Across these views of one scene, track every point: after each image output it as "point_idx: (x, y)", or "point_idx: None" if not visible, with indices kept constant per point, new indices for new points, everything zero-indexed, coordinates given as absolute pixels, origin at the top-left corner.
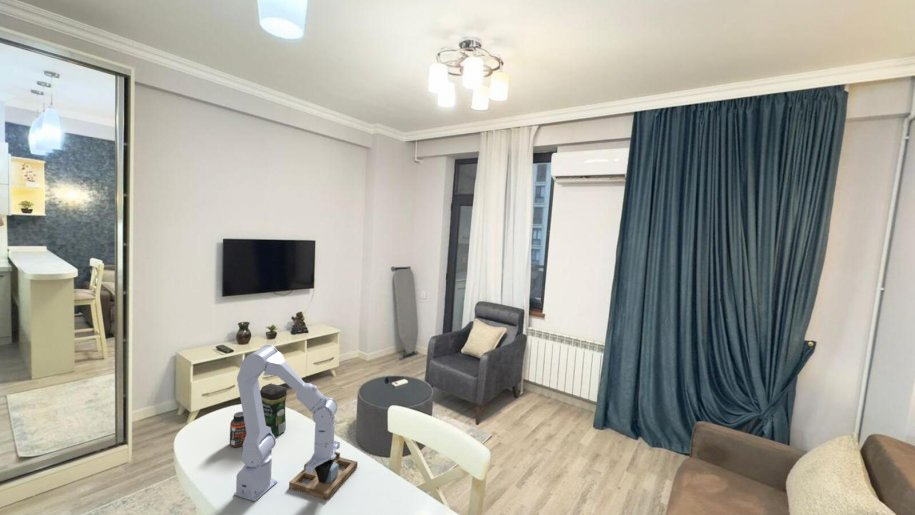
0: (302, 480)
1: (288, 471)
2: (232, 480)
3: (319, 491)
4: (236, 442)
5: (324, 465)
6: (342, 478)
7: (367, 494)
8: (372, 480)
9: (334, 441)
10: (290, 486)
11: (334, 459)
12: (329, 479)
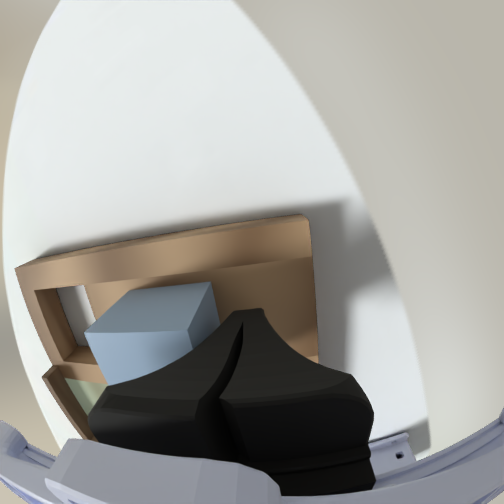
0: None
1: None
2: None
3: (314, 288)
4: None
5: (338, 431)
6: (128, 246)
7: (145, 54)
8: (56, 120)
9: (16, 493)
10: None
11: (109, 399)
12: (207, 302)
